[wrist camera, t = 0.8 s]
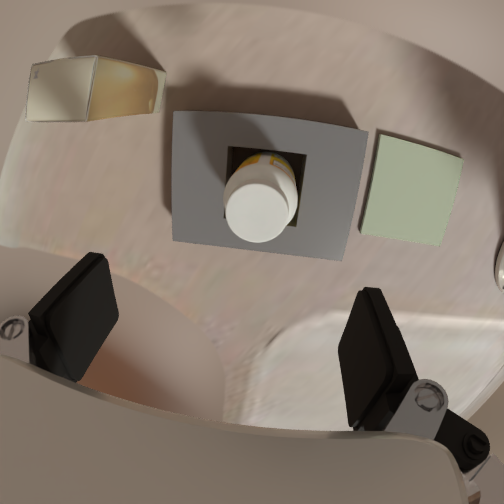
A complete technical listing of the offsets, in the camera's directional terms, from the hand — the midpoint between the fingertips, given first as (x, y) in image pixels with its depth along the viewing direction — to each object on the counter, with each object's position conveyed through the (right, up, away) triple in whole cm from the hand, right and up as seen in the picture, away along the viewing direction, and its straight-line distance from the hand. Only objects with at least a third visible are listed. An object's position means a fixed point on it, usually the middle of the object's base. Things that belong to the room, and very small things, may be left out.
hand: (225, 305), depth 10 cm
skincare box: (-10, +18, +13) cm, 24 cm away
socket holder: (+2, +9, +16) cm, 19 cm away
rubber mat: (+17, +8, +15) cm, 24 cm away
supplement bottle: (+2, +9, +17) cm, 19 cm away
